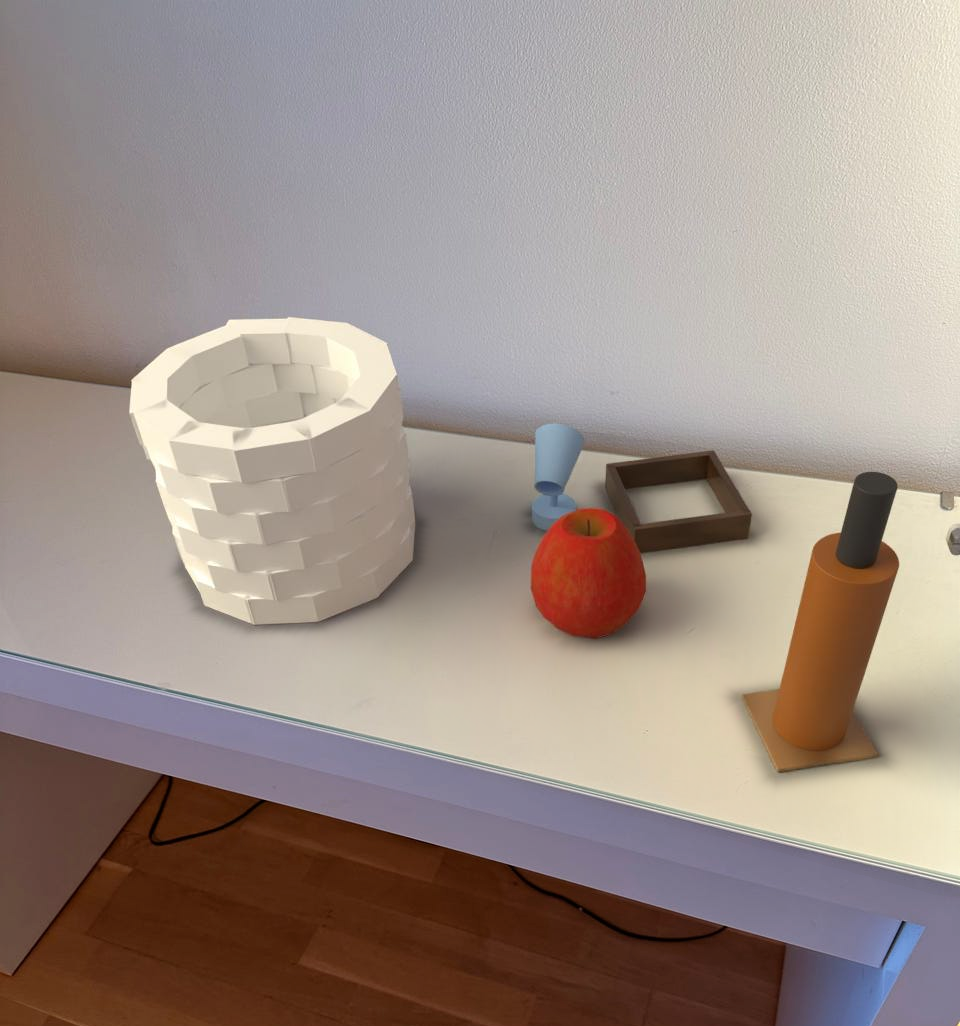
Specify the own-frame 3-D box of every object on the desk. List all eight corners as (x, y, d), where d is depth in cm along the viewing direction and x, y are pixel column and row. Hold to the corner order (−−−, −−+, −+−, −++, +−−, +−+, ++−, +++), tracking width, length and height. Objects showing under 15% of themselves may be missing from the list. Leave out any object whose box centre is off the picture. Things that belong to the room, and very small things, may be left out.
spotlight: (538, 494, 102) (524, 533, 97) (537, 410, 95) (521, 448, 90) (584, 499, 101) (572, 538, 96) (586, 414, 94) (573, 452, 89)
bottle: (828, 693, 79) (897, 453, 63) (858, 744, 75) (940, 502, 59) (762, 703, 78) (815, 464, 62) (788, 755, 74) (853, 514, 58)
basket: (413, 620, 88) (389, 442, 75) (157, 631, 89) (90, 457, 76) (423, 468, 107) (405, 304, 94) (211, 478, 107) (163, 317, 94)
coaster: (834, 683, 80) (835, 680, 80) (877, 757, 74) (878, 753, 74) (741, 697, 79) (742, 694, 79) (777, 772, 74) (778, 769, 73)
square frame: (710, 473, 103) (713, 449, 101) (748, 538, 95) (752, 514, 92) (604, 487, 102) (605, 463, 100) (633, 554, 94) (635, 529, 92)
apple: (553, 566, 93) (553, 475, 86) (657, 588, 90) (666, 496, 83) (515, 634, 86) (512, 541, 79) (626, 661, 83) (633, 567, 76)
